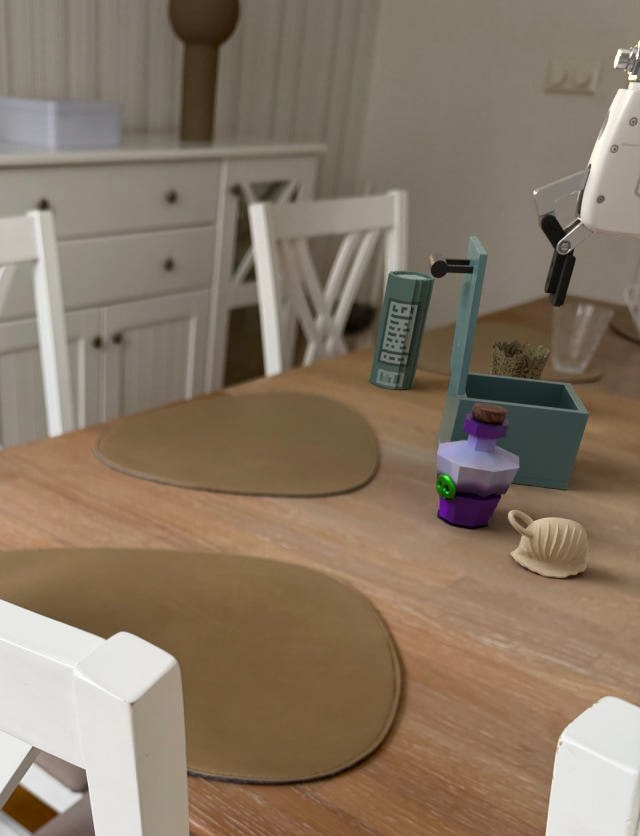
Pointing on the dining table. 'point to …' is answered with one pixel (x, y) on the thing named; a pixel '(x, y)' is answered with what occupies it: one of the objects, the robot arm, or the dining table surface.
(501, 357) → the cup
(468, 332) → the freezer lid
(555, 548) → the decorative ornament
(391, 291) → the can
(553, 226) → the robot arm
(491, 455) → the potion bottle
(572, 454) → the box
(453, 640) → the dining table surface
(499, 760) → the dining table surface
